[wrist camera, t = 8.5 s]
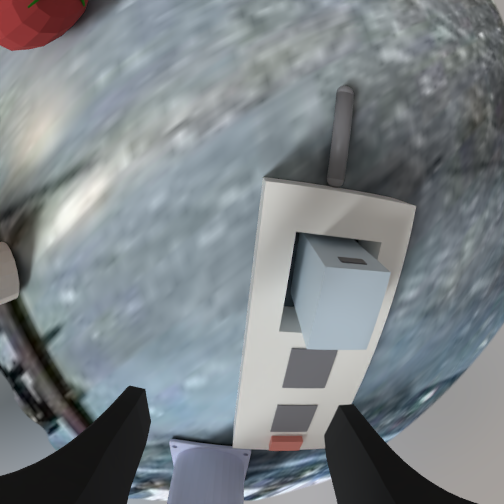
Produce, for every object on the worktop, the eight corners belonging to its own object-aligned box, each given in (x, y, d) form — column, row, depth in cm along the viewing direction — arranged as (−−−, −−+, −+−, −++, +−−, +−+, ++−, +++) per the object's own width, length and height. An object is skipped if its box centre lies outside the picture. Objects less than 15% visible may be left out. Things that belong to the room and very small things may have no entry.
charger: (335, 294, 18) (366, 349, 12) (290, 291, 18) (306, 349, 12) (348, 233, 17) (391, 271, 11) (300, 228, 17) (325, 265, 11)
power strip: (322, 423, 22) (329, 453, 19) (233, 421, 22) (232, 453, 19) (402, 104, 14) (434, 96, 11) (274, 75, 14) (281, 54, 10)
